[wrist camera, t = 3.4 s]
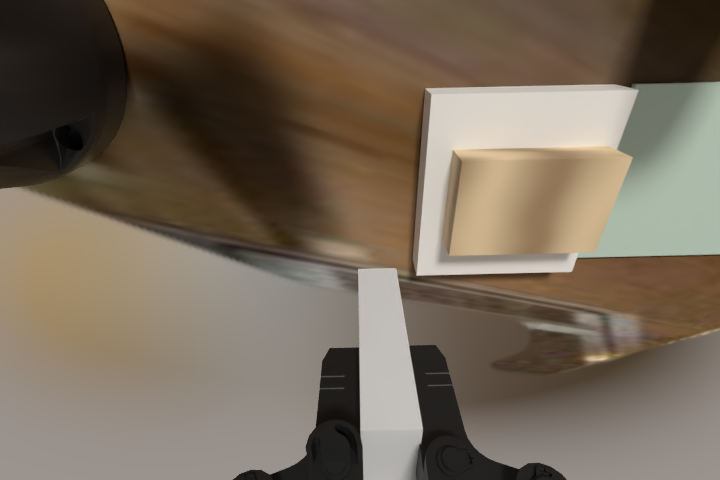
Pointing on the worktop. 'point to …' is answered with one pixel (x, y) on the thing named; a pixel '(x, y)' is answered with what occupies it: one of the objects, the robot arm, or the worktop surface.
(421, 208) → the white flat square block
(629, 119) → the mat
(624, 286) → the worktop surface
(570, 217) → the tan flat block
